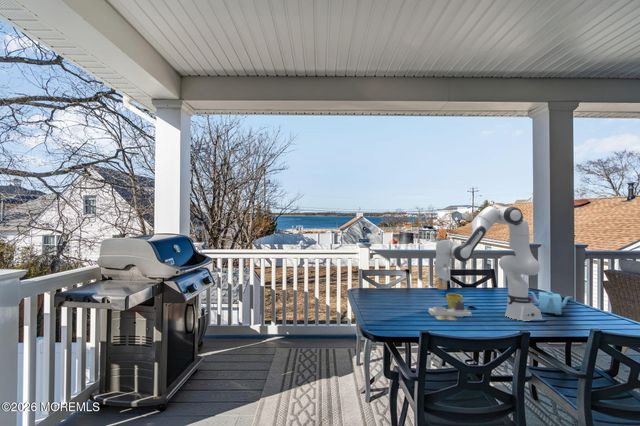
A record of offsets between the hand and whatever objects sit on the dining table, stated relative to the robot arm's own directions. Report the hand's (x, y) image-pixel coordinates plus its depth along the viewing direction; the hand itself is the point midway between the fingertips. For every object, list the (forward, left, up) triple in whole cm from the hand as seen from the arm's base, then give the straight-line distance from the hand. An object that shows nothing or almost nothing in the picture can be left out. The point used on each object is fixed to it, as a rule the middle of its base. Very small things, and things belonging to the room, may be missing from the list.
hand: (442, 285), depth 214 cm
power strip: (-6, -3, -19) cm, 20 cm away
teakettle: (-77, -15, -19) cm, 81 cm away
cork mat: (0, +7, -19) cm, 20 cm away
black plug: (-12, -3, -16) cm, 21 cm away
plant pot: (-13, -16, -19) cm, 28 cm away
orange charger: (0, 0, -2) cm, 2 cm away
